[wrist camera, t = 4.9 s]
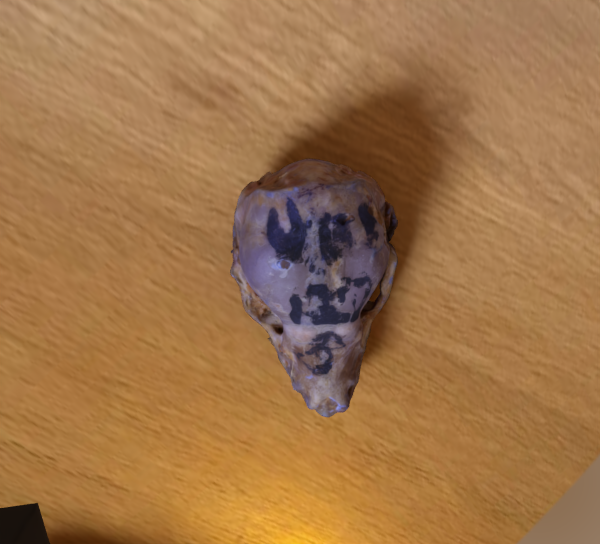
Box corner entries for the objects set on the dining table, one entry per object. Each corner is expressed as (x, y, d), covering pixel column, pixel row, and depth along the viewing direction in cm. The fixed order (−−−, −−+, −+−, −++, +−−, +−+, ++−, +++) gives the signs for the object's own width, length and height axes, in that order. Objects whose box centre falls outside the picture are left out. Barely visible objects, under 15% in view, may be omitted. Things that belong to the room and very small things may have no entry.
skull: (381, 398, 28) (392, 465, 22) (234, 386, 29) (206, 448, 23) (403, 162, 26) (422, 166, 20) (241, 153, 26) (212, 154, 20)
